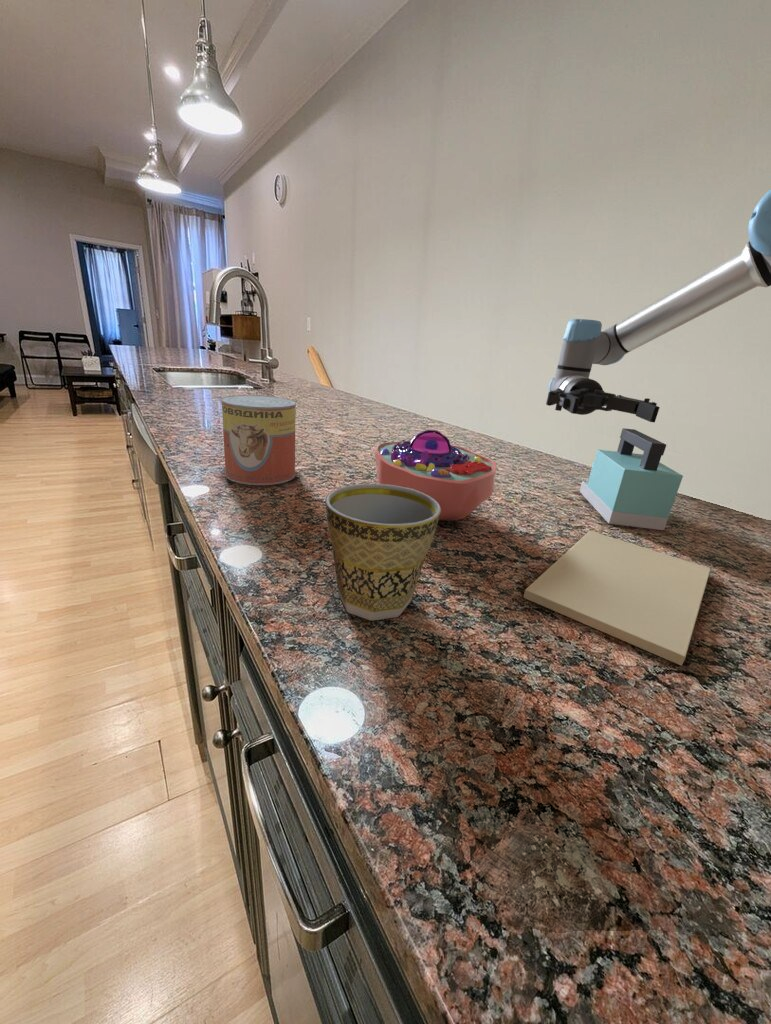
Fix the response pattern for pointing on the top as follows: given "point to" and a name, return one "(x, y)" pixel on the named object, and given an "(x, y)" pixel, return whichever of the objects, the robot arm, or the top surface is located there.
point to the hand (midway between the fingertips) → (615, 410)
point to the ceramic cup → (379, 545)
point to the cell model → (437, 472)
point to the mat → (626, 593)
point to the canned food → (259, 439)
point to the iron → (632, 483)
